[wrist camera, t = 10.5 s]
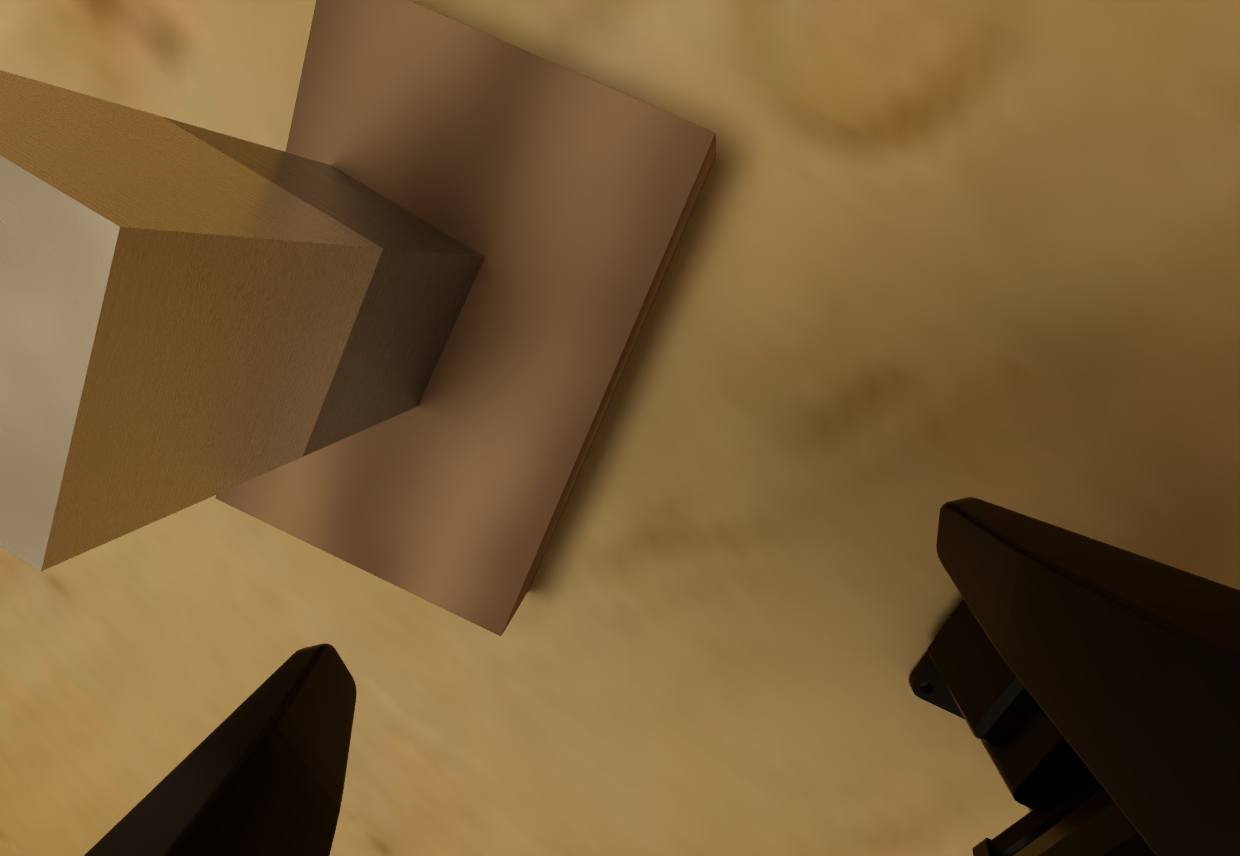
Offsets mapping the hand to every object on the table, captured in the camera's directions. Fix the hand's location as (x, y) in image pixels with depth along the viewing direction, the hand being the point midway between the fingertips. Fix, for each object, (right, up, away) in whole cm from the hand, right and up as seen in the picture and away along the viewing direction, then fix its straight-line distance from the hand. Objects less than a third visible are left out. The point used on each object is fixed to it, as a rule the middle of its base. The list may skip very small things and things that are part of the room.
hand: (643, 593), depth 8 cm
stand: (-6, +6, +13) cm, 15 cm away
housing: (-8, +7, +10) cm, 14 cm away
